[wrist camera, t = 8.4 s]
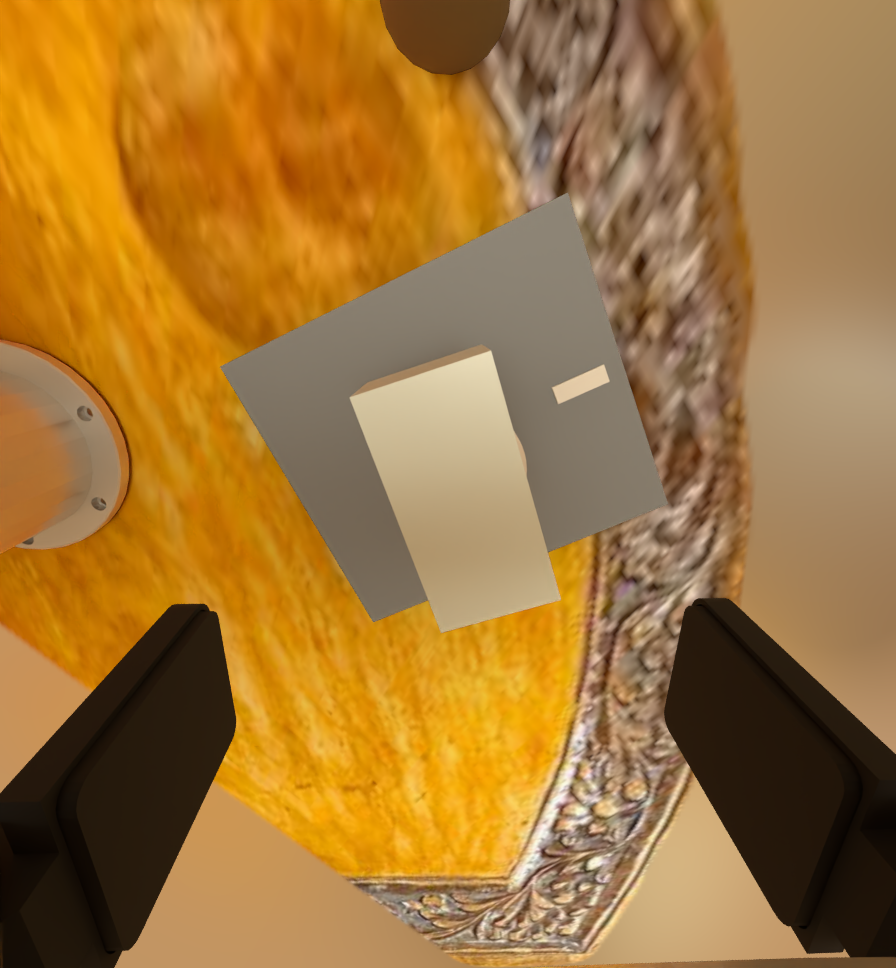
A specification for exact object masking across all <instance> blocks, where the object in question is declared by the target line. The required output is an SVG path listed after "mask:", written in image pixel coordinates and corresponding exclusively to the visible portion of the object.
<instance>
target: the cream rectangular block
mask: <svg viewBox="0 0 896 968" xmlns="http://www.w3.org/2000/svg"><path fill="white" fill-rule="evenodd" d="M349 398H350V400H351V403H352V406H353V408H354V411H355V413H356V416H357V418H358V421H359V424H360V426H361V429H362V431H363V434H364V436H365V439H366V442H367V444H368V447H369V449H370V452H371V454H372V457H373V459H374V462H375V465H376V467H377V470H378V472H379V475H380V477H381V480H382V483H383V485H384V488H385V490H386V493H387V495H388V498H389V501H390V503H391V506H392V508H393V511H394V513H395V516H396V519H397V521H398V524H399V526H400V529H401V531H402V534H403V537H404V539H405V542H406V544H407V547H408V549H409V552H410V554H411V557H412V560H413V562H414V565H415V567H416V570H417V572H418V575H419V578H420V580H421V583H422V585H423V588H424V590H425V593H426V596H427V598H428V601H429V603H430V606H431V608H432V611H433V614H434V616H435V619H436V621H437V624H438V626H439V629H440V631H441V633H443V632H447V631H450V630H454V629H457V628H461V627H465V626H468V625H472V624H475V623H479V622H483V621H486V620H490V619H494V618H497V617H501V616H504V615H508V614H512V613H515V612H519V611H522V610H526V609H530V608H533V607H537V606H541V605H544V604H548V603H551V602H555V601H559V600H561V598H560V594H559V591H558V587H557V583H556V580H555V576H554V573H553V569H552V566H551V562H550V558H549V555H548V551H547V548H546V544H545V541H544V537H543V534H542V530H541V526H540V523H539V519H538V516H537V512H536V509H535V505H534V502H533V498H532V494H531V491H530V487H529V484H528V480H527V477H526V475H527V464H526V457H525V453H524V450H523V447H522V444H521V442H520V441H519V439H518V437H517V435H516V434H515V432H514V430H513V427H512V423H511V420H510V416H509V413H508V409H507V405H506V402H505V398H504V395H503V391H502V388H501V384H500V380H499V377H498V373H497V370H496V366H495V363H494V359H493V356H492V352H491V350H490V349H488V348H486V347H485V346H483V345H482V344H481V345H478V346H475V347H472V348H469V349H466V350H463V351H460V352H457V353H454V354H451V355H448V356H445V357H442V358H439V359H436V360H433V361H430V362H427V363H424V364H421V365H418V366H415V367H412V368H409V369H406V370H403V371H400V372H397V373H394V374H391V375H388V376H385V377H382V378H379V379H376V380H373V381H370V382H367V383H366V384H365V385H364V386H362V387H361V388H360V389H359V390H358V391H357V392H355V393H354V394H353V395H352V396H351V397H349Z"/></svg>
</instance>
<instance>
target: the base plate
mask: <svg viewBox="0 0 896 968" xmlns="http://www.w3.org/2000/svg"><path fill="white" fill-rule="evenodd" d="M481 344H482V345H483V346H485V347H486V348H488V349H490V350H491V352H492V356H493V359H494V363H495V366H496V370H497V373H498V377H499V380H500V384H501V388H502V391H503V395H504V398H505V402H506V405H507V409H508V413H509V416H510V420H511V423H512V427H513V430H514V432H515V434H516V435H517V437H518V439H519V441H520V442H521V444H522V447H523V450H524V453H525V457H526V464H527V475H526V477H527V480H528V484H529V487H530V491H531V494H532V498H533V502H534V505H535V509H536V512H537V516H538V519H539V523H540V526H541V530H542V534H543V537H544V541H545V544H546V548H547V551H548V552H550V551H552V550H555V549H557V548H560V547H562V546H565V545H567V544H570V543H572V542H575V541H577V540H580V539H582V538H585V537H587V536H590V535H592V534H595V533H597V532H600V531H602V530H605V529H607V528H610V527H612V526H615V525H617V524H620V523H622V522H625V521H627V520H630V519H632V518H635V517H637V516H640V515H642V514H645V513H647V512H650V511H652V510H655V509H657V508H660V507H662V506H665V505H667V504H668V502H667V499H666V496H665V493H664V490H663V487H662V484H661V481H660V478H659V475H658V471H657V468H656V465H655V462H654V459H653V456H652V453H651V450H650V447H649V443H648V440H647V437H646V434H645V431H644V428H643V425H642V422H641V419H640V415H639V412H638V409H637V406H636V403H635V400H634V397H633V394H632V391H631V388H630V384H629V381H628V378H627V375H626V372H625V369H624V366H623V363H622V360H621V356H620V353H619V350H618V347H617V344H616V341H615V338H614V335H613V332H612V328H611V325H610V322H609V319H608V316H607V313H606V310H605V307H604V304H603V301H602V297H601V294H600V291H599V288H598V285H597V282H596V279H595V276H594V273H593V269H592V266H591V263H590V260H589V257H588V254H587V251H586V248H585V245H584V241H583V238H582V235H581V232H580V229H579V226H578V223H577V220H576V217H575V214H574V210H573V207H572V204H571V201H570V198H569V195H568V193H566V194H564V195H562V196H560V197H558V198H556V199H554V200H552V201H550V202H548V203H546V204H544V205H542V206H540V207H538V208H536V209H534V210H532V211H530V212H528V213H526V214H524V215H522V216H520V217H518V218H516V219H514V220H512V221H510V222H508V223H506V224H504V225H502V226H500V227H498V228H496V229H494V230H492V231H490V232H488V233H486V234H484V235H482V236H480V237H478V238H476V239H474V240H472V241H470V242H468V243H466V244H464V245H462V246H460V247H458V248H456V249H454V250H452V251H450V252H448V253H446V254H444V255H442V256H440V257H438V258H436V259H434V260H432V261H430V262H428V263H426V264H424V265H422V266H420V267H418V268H416V269H414V270H412V271H410V272H408V273H406V274H404V275H402V276H400V277H398V278H396V279H394V280H392V281H390V282H388V283H386V284H384V285H382V286H380V287H378V288H376V289H374V290H372V291H370V292H368V293H366V294H364V295H362V296H360V297H358V298H356V299H354V300H352V301H350V302H348V303H346V304H344V305H342V306H340V307H338V308H336V309H334V310H332V311H330V312H328V313H326V314H324V315H322V316H320V317H318V318H316V319H315V320H313V321H311V322H309V323H307V324H305V325H303V326H301V327H299V328H297V329H295V330H293V331H291V332H289V333H287V334H285V335H283V336H281V337H279V338H277V339H275V340H273V341H271V342H269V343H267V344H265V345H263V346H261V347H259V348H257V349H255V350H253V351H251V352H249V353H247V354H245V355H243V356H241V357H239V358H237V359H235V360H233V361H231V362H229V363H227V364H225V365H223V366H221V369H222V371H223V372H224V374H225V376H226V377H227V379H228V381H229V382H230V384H231V386H232V387H233V389H234V391H235V392H236V394H237V396H238V397H239V399H240V401H241V402H242V404H243V406H244V407H245V409H246V411H247V412H248V414H249V416H250V417H251V419H252V421H253V422H254V424H255V426H256V427H257V429H258V431H259V432H260V434H261V436H262V437H263V439H264V441H265V442H266V444H267V446H268V447H269V449H270V451H271V452H272V454H273V456H274V457H275V459H276V461H277V462H278V464H279V466H280V467H281V469H282V471H283V472H284V474H285V476H286V477H287V479H288V481H289V482H290V484H291V486H292V487H293V489H294V491H295V492H296V494H297V496H298V497H299V499H300V501H301V502H302V504H303V506H304V507H305V509H306V511H307V512H308V514H309V516H310V517H311V519H312V521H313V522H314V524H315V526H316V527H317V529H318V531H319V532H320V534H321V536H322V537H323V539H324V541H325V542H326V544H327V546H328V547H329V549H330V551H331V552H332V554H333V556H334V557H335V559H336V561H337V562H338V564H339V566H340V567H341V569H342V571H343V572H344V574H345V576H346V577H347V579H348V581H349V582H350V584H351V586H352V587H353V589H354V591H355V592H356V594H357V596H358V597H359V599H360V601H361V602H362V604H363V606H364V607H365V609H366V611H367V612H368V614H369V616H370V617H371V619H372V621H373V622H375V621H377V620H380V619H382V618H385V617H387V616H390V615H392V614H395V613H397V612H400V611H402V610H405V609H407V608H410V607H412V606H415V605H417V604H420V603H422V602H425V601H427V600H428V598H427V596H426V593H425V590H424V588H423V585H422V583H421V580H420V578H419V575H418V572H417V570H416V567H415V565H414V562H413V560H412V557H411V554H410V552H409V549H408V547H407V544H406V542H405V539H404V537H403V534H402V531H401V529H400V526H399V524H398V521H397V519H396V516H395V513H394V511H393V508H392V506H391V503H390V501H389V498H388V495H387V493H386V490H385V488H384V485H383V483H382V480H381V477H380V475H379V472H378V470H377V467H376V465H375V462H374V459H373V457H372V454H371V452H370V449H369V447H368V444H367V442H366V439H365V436H364V434H363V431H362V429H361V426H360V424H359V421H358V418H357V416H356V413H355V411H354V408H353V406H352V403H351V400H350V398H349V397H351V396H352V395H353V394H354V393H355V392H357V391H358V390H359V389H360V388H361V387H362V386H364V385H365V384H366V383H367V382H370V381H373V380H376V379H379V378H382V377H385V376H388V375H391V374H394V373H397V372H400V371H403V370H406V369H409V368H412V367H415V366H418V365H421V364H424V363H427V362H430V361H433V360H436V359H439V358H442V357H445V356H448V355H451V354H454V353H457V352H460V351H463V350H466V349H469V348H472V347H475V346H478V345H481Z"/></svg>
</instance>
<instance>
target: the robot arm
mask: <svg viewBox="0 0 896 968" xmlns="http://www.w3.org/2000/svg"><path fill="white" fill-rule="evenodd" d="M128 481H129V458H128V453H127V449H126V444H125V440H124V437H123V435H122V433H121V430H120V428H119V426H118V423H117V421H116V419H115V417H114V416H113V414H112V413H111V411H110V409H109V408H108V406H107V405H106V403H105V402H104V400H103V399H102V398H101V397H100V396H99V395H98V393H97V392H96V391H95V390H94V389H93V388H92V387H91V385H90V384H89V383H88V382H87V381H85V380H84V379H83V378H82V377H81V376H79V375H78V374H77V373H76V372H75V371H73V370H72V369H71V368H70V367H68V366H67V365H65V364H63V363H62V362H60V361H59V360H57V359H55V358H54V357H52V356H50V355H49V354H46V353H44V352H42V351H39V350H37V349H34V348H32V347H30V346H27V345H24V344H19V343H15V342H11V341H7V340H0V554H1V553H3V552H5V551H7V550H9V549H11V548H12V547H19V548H24V549H43V550H45V549H53V548H60V547H65V546H68V545H71V544H73V543H76V542H79V541H81V540H83V539H85V538H86V537H88V536H90V535H92V534H93V533H95V532H97V531H98V530H99V529H100V528H102V527H103V526H104V525H106V524H107V523H108V522H109V521H110V520H111V519H112V517H113V516H114V515H115V514H116V512H117V511H118V510H119V508H120V506H121V504H122V502H123V499H124V497H125V495H126V491H127V486H128ZM664 715H665V722H666V725H667V728H668V730H669V732H670V733H671V735H672V737H673V739H674V740H675V742H676V744H677V746H678V747H679V749H680V751H681V752H682V754H683V756H684V758H685V759H686V761H687V763H688V765H689V766H690V768H691V770H692V771H693V773H694V775H695V777H696V778H697V780H698V782H699V783H700V785H701V787H702V789H703V790H704V792H705V794H706V796H707V797H708V799H709V801H710V802H711V804H712V806H713V807H714V809H715V811H716V813H717V815H718V816H719V818H720V820H721V822H722V823H723V825H724V827H725V828H726V830H727V832H728V834H729V835H730V837H731V839H732V840H733V842H734V844H735V846H736V847H737V849H738V851H739V853H740V854H741V856H742V858H743V859H744V861H745V863H746V865H747V866H748V868H749V870H750V871H751V873H752V875H753V877H754V878H755V880H756V882H757V884H758V885H759V887H760V889H761V891H762V892H763V894H764V896H765V897H766V899H767V901H768V902H769V904H770V906H771V908H772V910H773V911H774V913H775V914H776V916H777V917H778V919H779V920H780V921H781V922H782V923H783V924H785V925H786V926H791V927H792V929H793V931H794V933H795V934H796V936H797V938H798V939H799V941H800V942H801V944H802V946H803V947H804V949H805V951H806V953H807V954H808V953H809V954H810V953H836V952H843V950H844V949H845V950H846V952H847V953H848V955H849V956H850V958H791V959H759V960H730V961H729V960H728V961H700V962H699V961H697V962H668V963H636V964H609V965H608V964H607V965H583V966H581V965H580V966H554V967H528V968H896V754H895V753H894V752H893V751H891V750H890V749H889V748H888V747H887V746H886V745H885V744H884V743H883V742H882V741H881V740H880V739H879V738H878V737H876V736H875V735H874V734H873V733H872V732H871V731H870V730H869V729H868V728H867V727H866V726H865V725H864V724H863V723H862V722H860V721H859V720H858V719H857V718H856V717H855V716H854V715H853V714H852V713H851V712H850V711H849V710H847V708H846V707H844V706H843V705H842V704H841V703H840V702H839V701H838V700H837V699H836V698H835V697H834V696H833V695H832V694H831V693H829V692H828V691H827V690H826V689H825V688H824V687H823V686H822V685H821V684H820V683H819V682H818V681H817V680H816V679H815V678H813V677H812V676H811V675H810V674H809V673H808V672H807V671H806V670H805V669H804V668H803V667H802V666H800V665H799V664H798V663H797V662H796V661H795V660H794V659H793V658H792V657H791V656H790V655H789V654H788V653H787V652H786V651H785V650H784V649H782V648H781V647H780V646H779V645H778V644H777V643H776V642H775V641H774V640H773V639H772V638H771V637H770V636H769V635H767V634H766V633H765V632H764V631H763V630H762V629H761V628H760V627H759V626H758V625H757V624H756V623H755V622H754V621H753V620H751V619H750V618H749V617H748V616H747V615H746V614H745V613H744V612H743V611H742V610H741V609H740V608H739V607H738V606H737V605H735V604H734V603H733V602H732V601H731V600H729V599H726V598H699V599H696V600H695V601H694V602H693V604H692V606H688V607H687V608H686V609H685V612H684V616H683V621H682V626H681V631H680V636H679V641H678V645H677V650H676V655H675V660H674V665H673V670H672V675H671V680H670V685H669V690H668V695H667V699H666V704H665V710H664ZM235 728H236V715H235V709H234V704H233V698H232V692H231V687H230V681H229V675H228V669H227V664H226V658H225V652H224V647H223V641H222V635H221V630H220V624H219V618H218V615H217V613H216V612H214V611H209V608H208V607H207V605H205V604H175V605H172V606H170V607H169V608H168V609H167V610H166V611H165V612H164V614H163V615H162V616H161V617H160V618H159V619H158V620H157V621H156V622H155V623H154V625H153V626H152V627H151V628H150V629H149V630H148V631H147V632H146V633H145V634H144V636H143V637H142V638H141V639H140V640H139V641H138V642H137V643H136V644H135V645H134V647H133V648H132V649H131V650H130V651H129V652H128V653H127V654H126V655H125V656H124V658H123V659H122V660H121V661H120V662H119V663H118V664H117V665H116V666H115V667H114V669H113V670H112V671H111V672H110V673H109V674H108V675H107V676H106V677H105V679H104V680H103V681H102V682H101V683H100V684H99V685H98V686H97V687H96V688H95V690H94V691H93V692H92V693H91V694H90V695H89V696H88V697H87V698H86V699H85V701H84V702H83V703H82V704H81V705H80V706H79V707H78V708H77V709H76V710H75V712H74V713H73V714H72V715H71V716H70V717H69V718H68V719H67V720H66V722H65V723H64V724H63V725H62V726H61V727H60V728H59V729H58V730H57V731H56V733H55V734H54V735H53V736H52V737H51V738H50V739H49V740H48V741H47V742H46V744H45V745H44V746H43V747H42V748H41V749H40V750H39V751H38V752H37V753H36V754H35V756H34V757H33V758H32V759H31V760H30V761H29V762H28V763H27V764H26V765H25V767H24V768H23V769H22V770H21V771H20V772H19V773H18V774H17V775H16V776H15V778H14V779H13V780H12V781H11V782H10V783H9V784H8V785H7V786H6V788H5V789H4V790H3V791H2V792H1V793H0V968H114V967H115V965H116V963H117V961H118V959H119V957H120V955H121V952H122V951H125V950H129V949H131V948H132V947H133V945H134V944H135V943H136V941H137V940H138V938H139V936H140V934H141V932H142V930H143V928H144V926H145V924H146V921H147V919H148V917H149V915H150V913H151V911H152V909H153V907H154V904H155V902H156V900H157V898H158V896H159V894H160V892H161V890H162V888H163V885H164V883H165V881H166V879H167V877H168V874H169V873H170V871H171V869H172V866H173V864H174V862H175V860H176V858H177V856H178V853H179V851H180V849H181V847H182V845H183V843H184V841H185V839H186V837H187V834H188V832H189V830H190V828H191V826H192V824H193V822H194V820H195V818H196V815H197V813H198V811H199V809H200V807H201V805H202V803H203V801H204V799H205V797H206V794H207V792H208V790H209V788H210V786H211V784H212V782H213V780H214V777H215V775H216V773H217V771H218V769H219V767H220V765H221V763H222V760H223V758H224V756H225V754H226V752H227V750H228V748H229V746H230V744H231V741H232V739H233V737H234V733H235Z"/></svg>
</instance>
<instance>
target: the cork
mask: <svg viewBox="0 0 896 968" xmlns="http://www.w3.org/2000/svg"><path fill="white" fill-rule="evenodd" d="M380 4H381V8H382V12H383V16H384V20H385V24H386V28H387V30H388V31H389V33H390V35H391V37H392V39H393V41H394V42H395V44H396V46H397V48H398V49H399V50H400V51H401V52H402V53H403V54H404V55H405V56H406V57H407V58H408V59H409V60H410V61H411V62H412V63H413V64H414V65H416V66H418V67H420V68H422V69H425V70H427V71H429V72H431V73H437V74H450V75H452V74H455V73H458V72H461V71H465V70H468V69H471V68H472V67H473V66H475V65H476V64H477V63H478V62H480V61H481V60H482V59H484V58H485V57H486V56H487V55H488V54H489V53H490V51H491V50H492V48H493V47H494V45H495V44H496V42H497V41H498V39H499V38H500V37H501V34H502V31H503V28H504V25H505V22H506V19H507V16H508V13H509V4H510V0H380Z"/></svg>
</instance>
